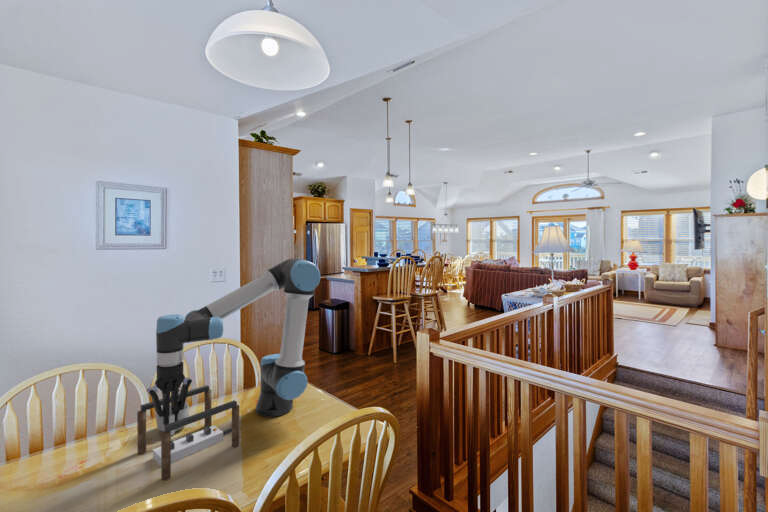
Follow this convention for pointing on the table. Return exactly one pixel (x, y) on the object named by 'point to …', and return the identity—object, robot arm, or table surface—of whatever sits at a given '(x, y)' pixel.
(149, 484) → the table surface
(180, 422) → the cable
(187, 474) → the table surface
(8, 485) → the table surface
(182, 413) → the teacup
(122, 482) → the table surface
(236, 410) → the posts
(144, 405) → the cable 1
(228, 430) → the switch strip
